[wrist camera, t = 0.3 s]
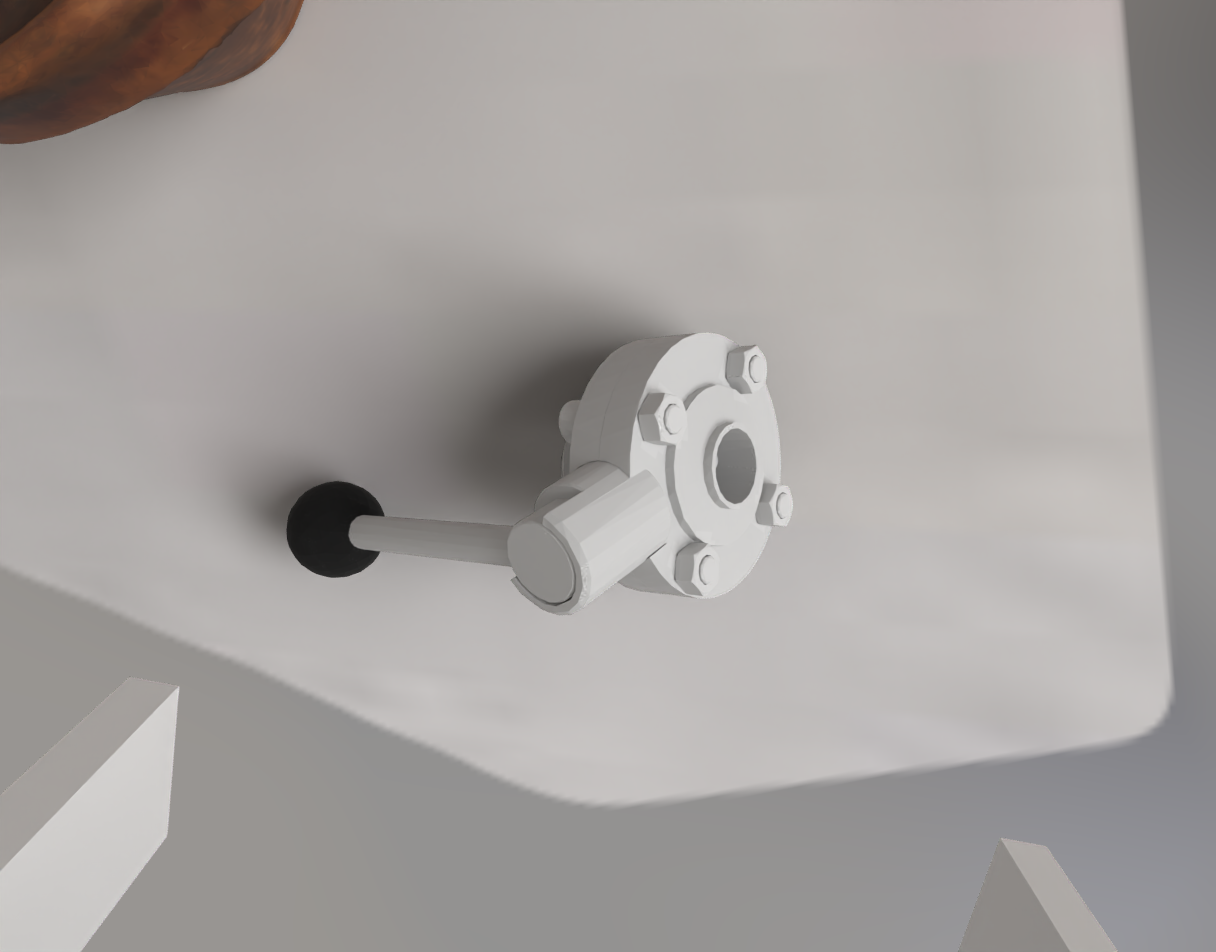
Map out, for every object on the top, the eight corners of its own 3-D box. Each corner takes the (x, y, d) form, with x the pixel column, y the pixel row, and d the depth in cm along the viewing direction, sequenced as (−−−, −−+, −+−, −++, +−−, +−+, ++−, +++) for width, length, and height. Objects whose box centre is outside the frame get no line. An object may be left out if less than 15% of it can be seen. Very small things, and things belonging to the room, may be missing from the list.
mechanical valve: (819, 531, 40) (612, 727, 29) (532, 513, 51) (310, 650, 41) (776, 300, 37) (528, 427, 26) (481, 337, 48) (228, 435, 38)
